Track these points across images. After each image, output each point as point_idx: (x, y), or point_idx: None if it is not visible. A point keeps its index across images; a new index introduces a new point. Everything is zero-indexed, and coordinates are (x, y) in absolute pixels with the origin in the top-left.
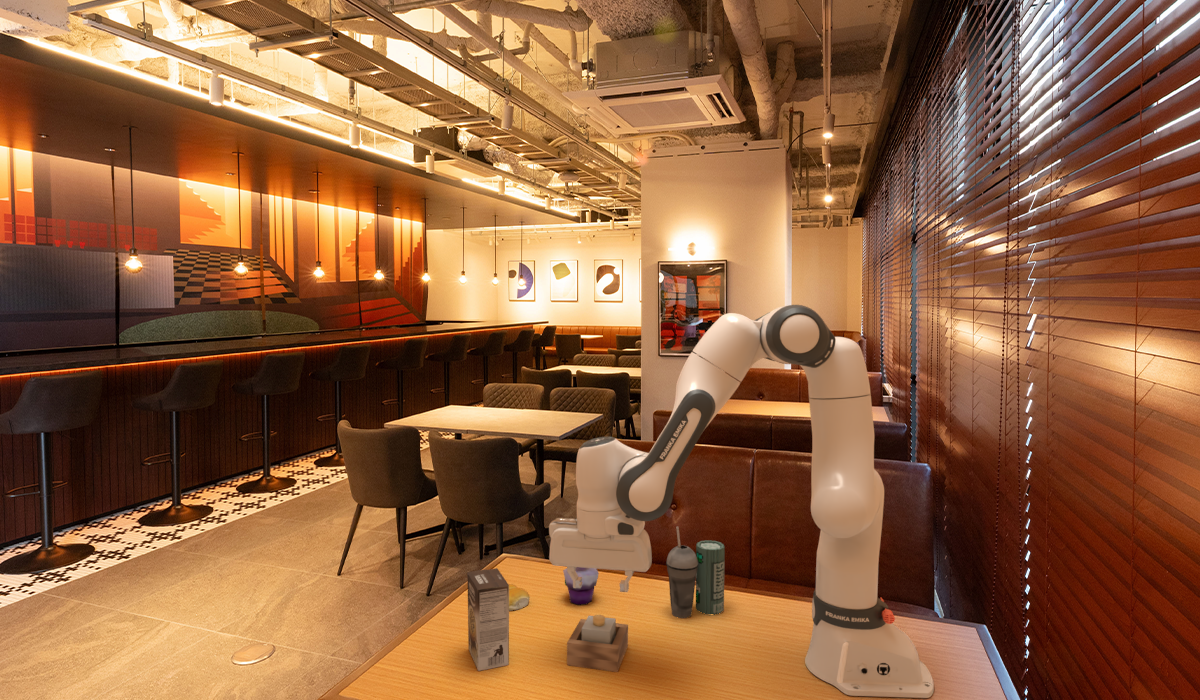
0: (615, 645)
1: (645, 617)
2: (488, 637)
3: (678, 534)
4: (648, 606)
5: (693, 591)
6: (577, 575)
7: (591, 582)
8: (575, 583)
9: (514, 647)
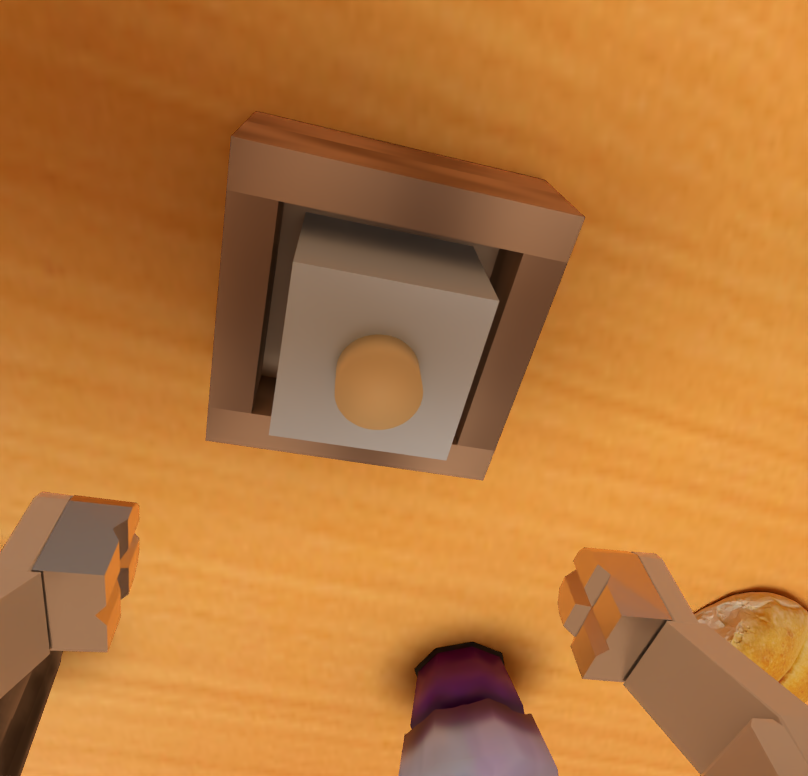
0: (253, 189)
1: (179, 588)
2: None
3: None
4: (180, 655)
5: None
6: (638, 693)
7: (427, 743)
8: (654, 587)
9: (788, 335)
